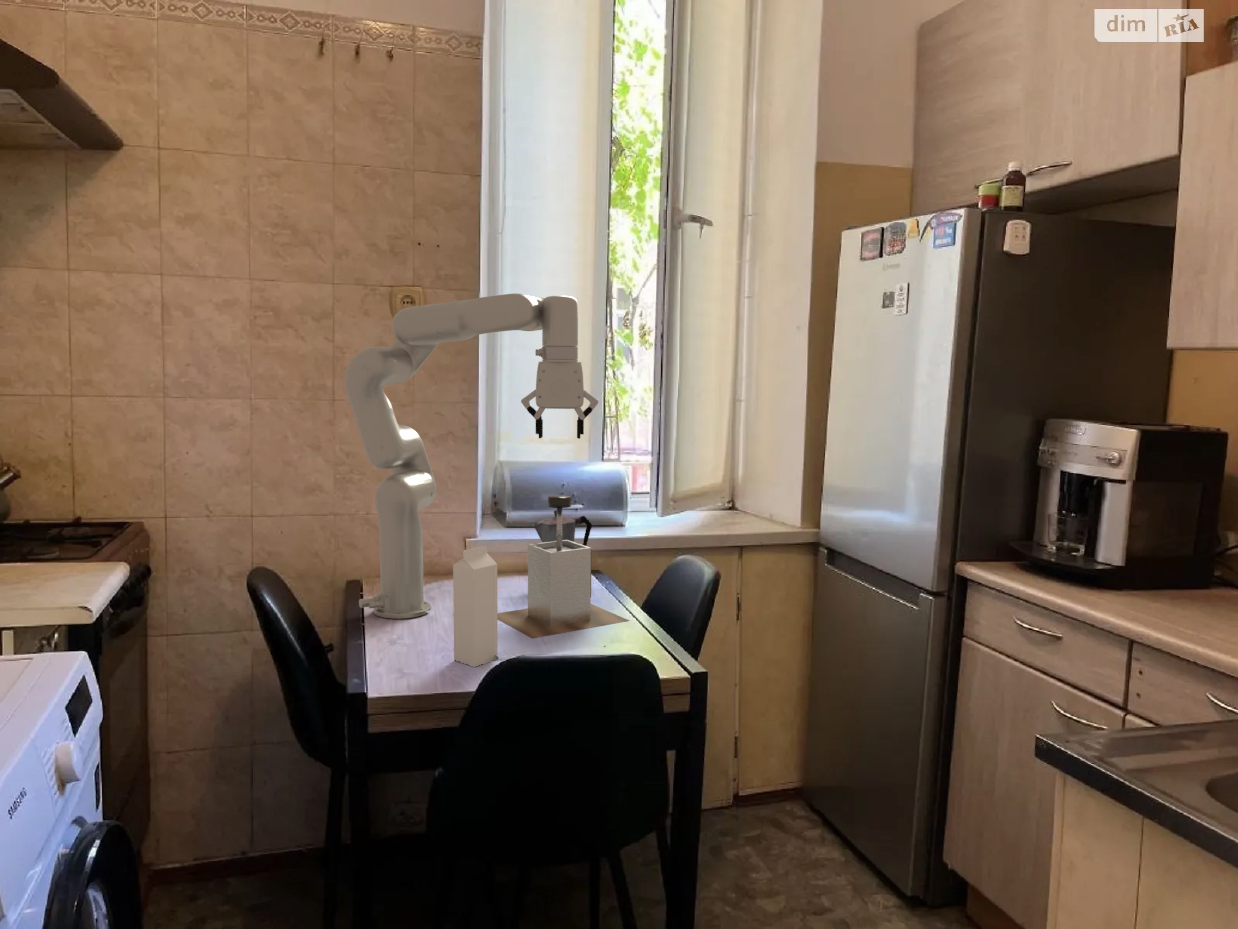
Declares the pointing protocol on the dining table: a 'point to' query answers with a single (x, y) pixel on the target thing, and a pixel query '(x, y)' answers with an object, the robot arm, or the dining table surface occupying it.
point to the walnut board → (539, 629)
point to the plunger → (559, 518)
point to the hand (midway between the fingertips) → (559, 437)
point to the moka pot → (549, 528)
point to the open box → (559, 583)
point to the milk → (475, 608)
